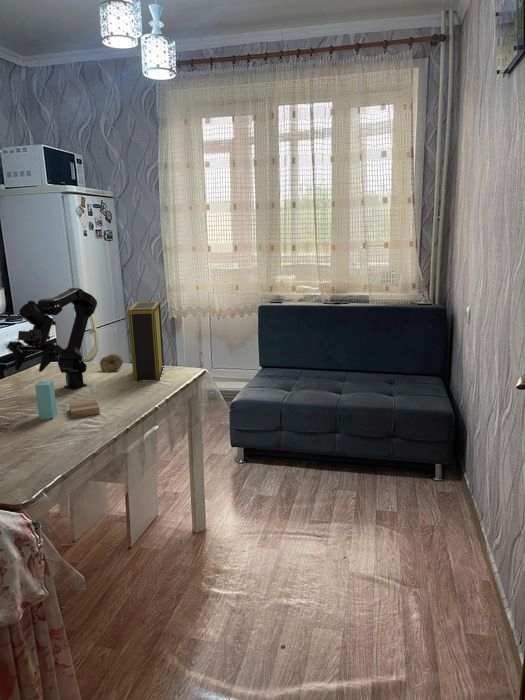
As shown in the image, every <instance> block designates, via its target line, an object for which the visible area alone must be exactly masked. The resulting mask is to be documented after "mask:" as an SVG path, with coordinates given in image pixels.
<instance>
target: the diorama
mask: <svg viewBox="0 0 525 700" xmlns="http://www.w3.org/2000/svg"><path fill="white" fill-rule="evenodd" d="M161 311H162V310H161V302H160V301H147V302H146V301H143V302H139V301H138V302H137V301H136V302H135V303H134V304H133V305H132V306H130V308H129V309H128V310H127V315H128V317H127V318H128V327H129V328H128V331H129V338H130V339H129V340H130V342H129V343H130V352H131V353H130V354H131V364H132V365H131V366H132V378H133V382H134V381H137V382H143V381H142V380H159V381H161V379H160V377H161V378H162V376H161V374H162V375H163V373H162V371H163V368H164V369H165V356H164V342H163V326H162V312H161ZM162 366H164V367H162ZM163 372H164V371H163ZM140 380H141V381H140Z"/></svg>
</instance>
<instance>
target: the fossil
mask: <svg viewBox="0 0 525 700" xmlns="http://www.w3.org/2000/svg"><path fill="white" fill-rule="evenodd" d="M99 361H100V362H99V364H100V370H101V371H102V372H103V371H110V372H116V371H118V370H119V369H120V368H121V367H122V365H123V362H124V359H123V358H122V356H121V355H119V354H116V353H112V354H109V355H107V356H105V357H102V358H101V359H100V360H99Z"/></svg>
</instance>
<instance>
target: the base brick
mask: <svg viewBox="0 0 525 700" xmlns="http://www.w3.org/2000/svg"><path fill="white" fill-rule="evenodd" d="M68 404H69V413H70V416H71V418H72V419H76V418H75V417H78V418H82V417H81V416H84V417H88V416H87V415H91V416H95V415H94V414H97V415H101V414H100V413H101V411H100V406H99V404H98V401H97V399H91V400H83V401H77V402H76V401H75V402H70V403H68Z"/></svg>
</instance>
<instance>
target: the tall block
mask: <svg viewBox="0 0 525 700" xmlns="http://www.w3.org/2000/svg"><path fill="white" fill-rule="evenodd" d="M54 382H55V381H54V380H44V381H41V380H40V381H38V382H37V383H36V384H35V386H34V387H35V394H36V395H35V396H36V403H37V411H38V417H39V420H40V419H41V420H51V419H50V418H54V419H55V417H56V416H57V415H58V408H57V400H56V393H55V383H54Z"/></svg>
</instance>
